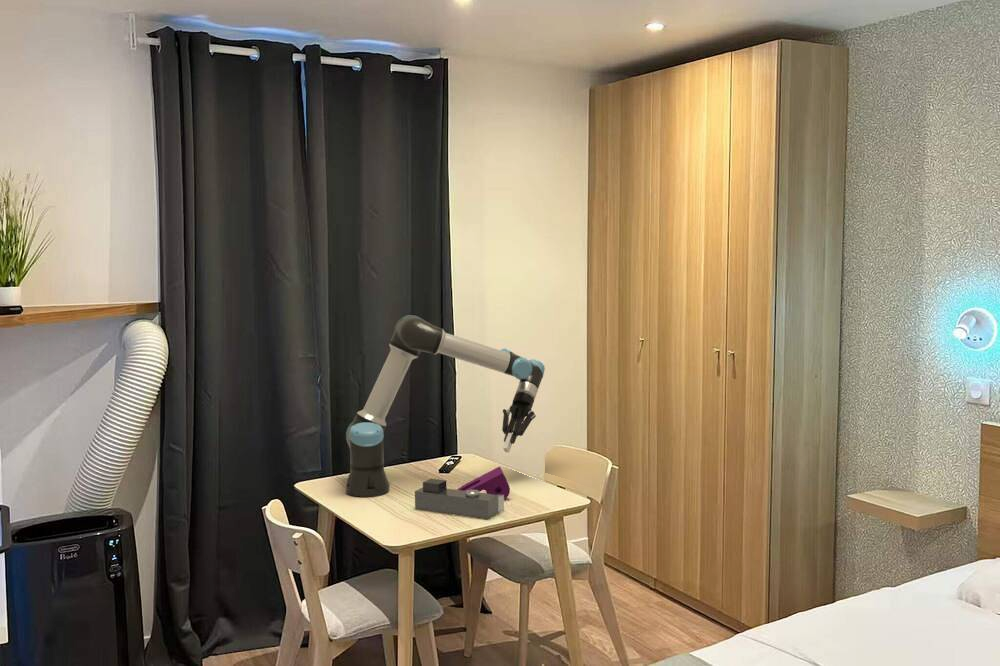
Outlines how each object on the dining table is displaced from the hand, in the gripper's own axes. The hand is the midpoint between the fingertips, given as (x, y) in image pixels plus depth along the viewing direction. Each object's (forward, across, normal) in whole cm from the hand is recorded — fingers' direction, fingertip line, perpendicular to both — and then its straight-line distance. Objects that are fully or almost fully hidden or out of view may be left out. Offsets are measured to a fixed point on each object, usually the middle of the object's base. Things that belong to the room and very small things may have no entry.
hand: (506, 450), depth 314 cm
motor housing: (+33, 0, +15) cm, 36 cm away
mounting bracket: (+22, 0, +4) cm, 23 cm away
